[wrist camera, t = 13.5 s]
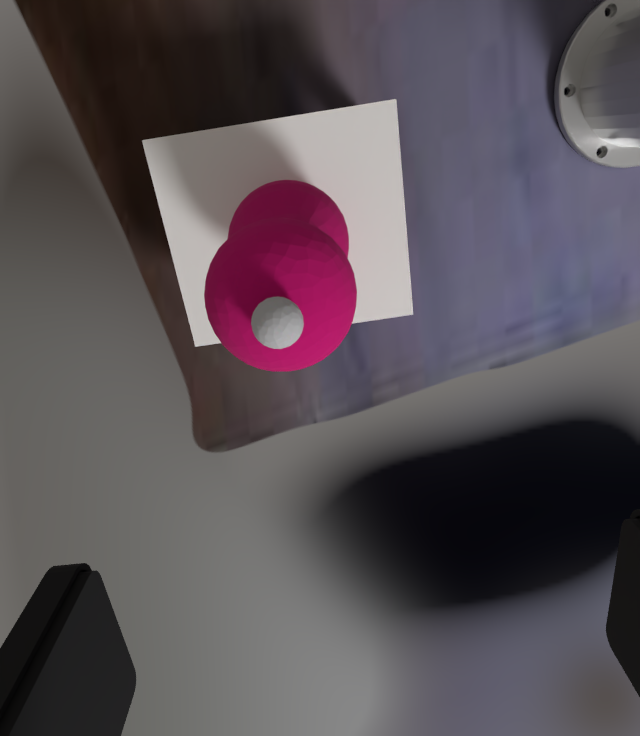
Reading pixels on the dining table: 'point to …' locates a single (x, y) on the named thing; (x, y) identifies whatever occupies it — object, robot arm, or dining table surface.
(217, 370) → the dining table surface
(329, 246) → the pepper mill
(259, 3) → the dining table surface
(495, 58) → the dining table surface
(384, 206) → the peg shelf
